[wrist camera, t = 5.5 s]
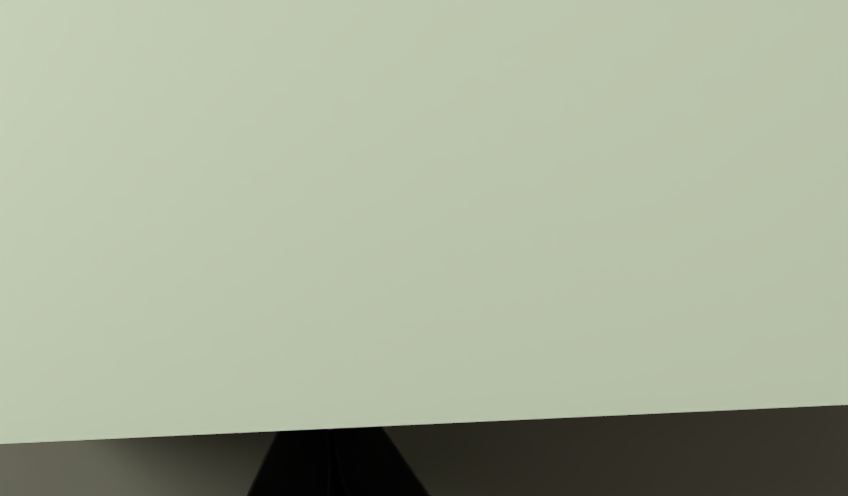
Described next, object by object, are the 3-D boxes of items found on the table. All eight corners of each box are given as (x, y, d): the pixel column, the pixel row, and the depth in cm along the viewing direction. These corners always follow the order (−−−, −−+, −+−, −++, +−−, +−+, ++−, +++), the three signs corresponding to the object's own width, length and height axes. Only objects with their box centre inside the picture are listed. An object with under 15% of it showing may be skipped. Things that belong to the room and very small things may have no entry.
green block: (532, 378, 17) (1003, 398, 6) (43, 395, 15) (-567, 469, 4) (517, 76, 18) (893, -366, 7) (59, 53, 16) (-387, -617, 5)
